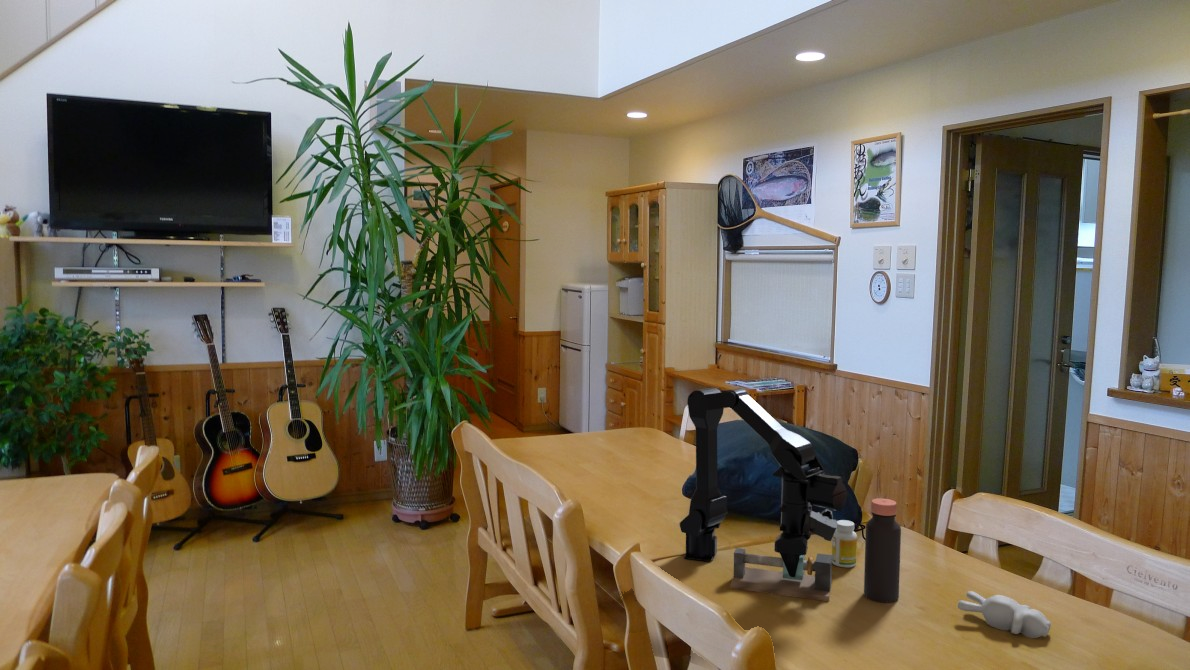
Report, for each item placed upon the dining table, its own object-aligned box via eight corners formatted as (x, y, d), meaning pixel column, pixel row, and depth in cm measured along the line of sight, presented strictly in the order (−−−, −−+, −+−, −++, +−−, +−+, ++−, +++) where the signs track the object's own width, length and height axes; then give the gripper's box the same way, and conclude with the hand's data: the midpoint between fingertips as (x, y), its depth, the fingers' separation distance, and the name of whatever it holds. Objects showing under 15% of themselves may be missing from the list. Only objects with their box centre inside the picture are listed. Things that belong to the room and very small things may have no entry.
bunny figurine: (1045, 626, 142) (957, 594, 152) (1040, 652, 143) (953, 619, 152) (1056, 608, 149) (971, 579, 159) (1051, 633, 150) (967, 603, 160)
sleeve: (782, 578, 167) (783, 555, 167) (785, 569, 172) (785, 548, 172) (802, 580, 166) (802, 558, 166) (804, 571, 171) (804, 550, 170)
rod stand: (730, 588, 169) (731, 556, 168) (738, 570, 178) (738, 540, 178) (828, 601, 162) (829, 568, 161) (831, 582, 171) (832, 550, 171)
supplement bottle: (826, 563, 182) (827, 522, 182) (840, 557, 186) (841, 517, 185) (847, 570, 178) (848, 528, 177) (860, 564, 182) (862, 523, 181)
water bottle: (899, 592, 166) (903, 499, 164) (897, 605, 160) (900, 508, 158) (865, 587, 169) (868, 495, 167) (861, 599, 163) (864, 504, 161)
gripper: (832, 518, 156) (830, 595, 158) (837, 491, 174) (835, 561, 175) (774, 512, 160) (773, 587, 161) (785, 486, 177) (784, 554, 179)
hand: (793, 572), depth 169 cm, fingers closed on sleeve, 5 cm apart
